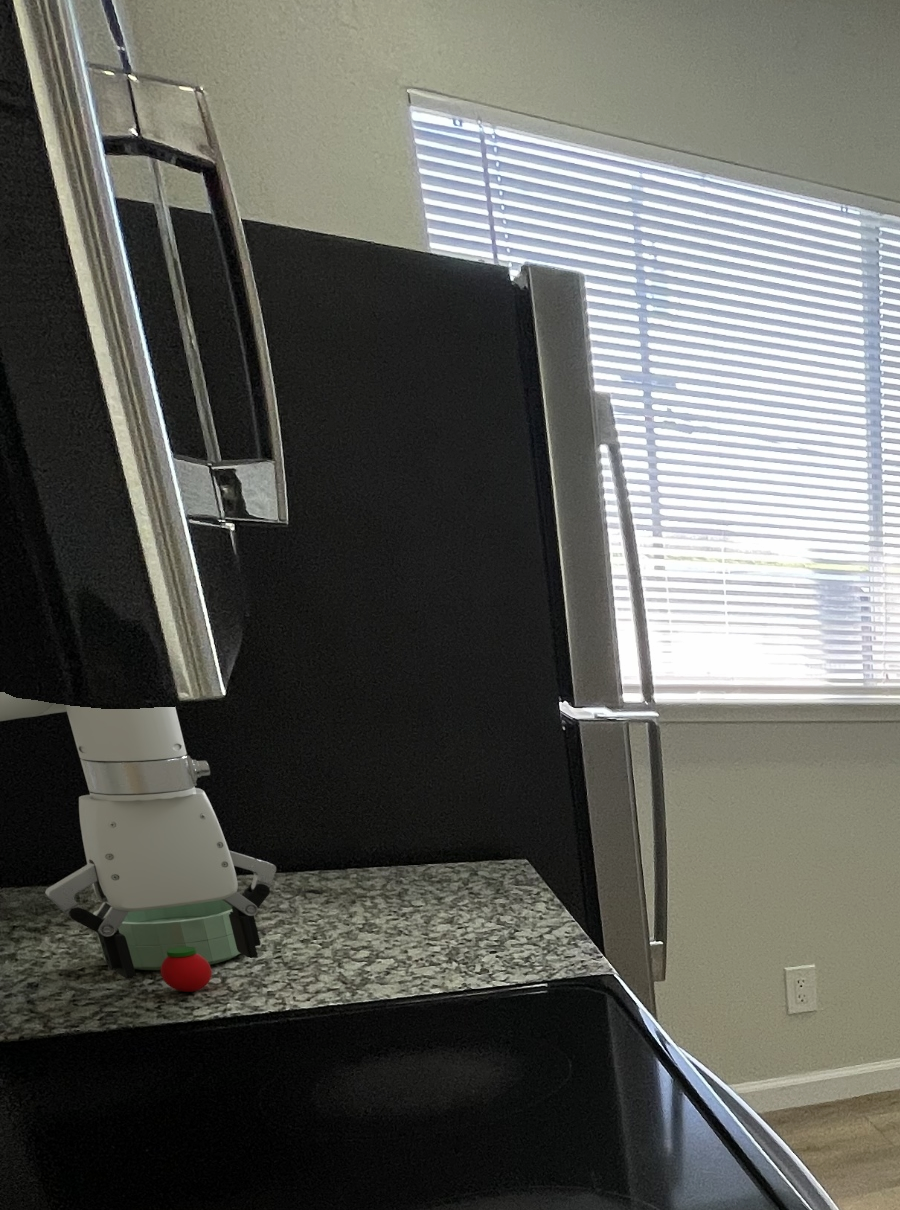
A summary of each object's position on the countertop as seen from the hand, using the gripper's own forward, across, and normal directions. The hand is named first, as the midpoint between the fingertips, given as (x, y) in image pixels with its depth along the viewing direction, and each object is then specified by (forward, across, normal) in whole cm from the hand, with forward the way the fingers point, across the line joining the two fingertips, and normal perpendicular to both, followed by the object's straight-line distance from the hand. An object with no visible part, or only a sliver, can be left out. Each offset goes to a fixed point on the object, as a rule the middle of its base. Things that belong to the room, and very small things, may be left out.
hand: (189, 964), depth 116 cm
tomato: (+3, 0, 0) cm, 3 cm away
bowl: (+2, -3, -13) cm, 14 cm away
